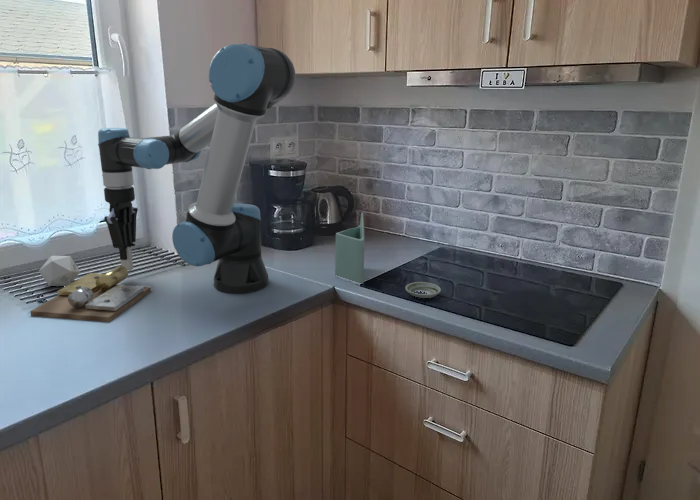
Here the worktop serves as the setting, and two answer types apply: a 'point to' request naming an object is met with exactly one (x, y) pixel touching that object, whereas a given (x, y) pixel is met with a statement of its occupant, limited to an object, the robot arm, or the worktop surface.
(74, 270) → the die
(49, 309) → the mount board
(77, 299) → the fixed leaf
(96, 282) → the loose leaf
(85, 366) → the worktop surface
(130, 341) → the worktop surface
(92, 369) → the worktop surface
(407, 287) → the saucer
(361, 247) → the planter
